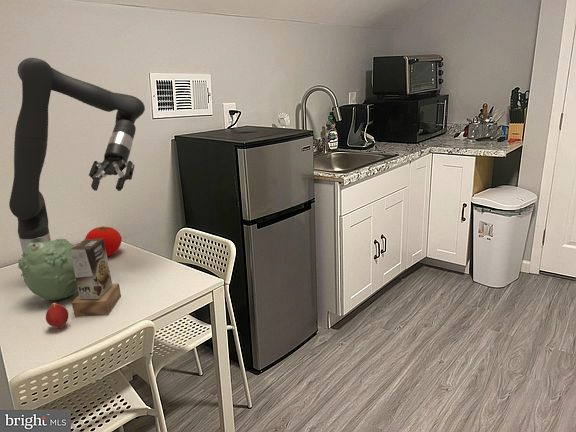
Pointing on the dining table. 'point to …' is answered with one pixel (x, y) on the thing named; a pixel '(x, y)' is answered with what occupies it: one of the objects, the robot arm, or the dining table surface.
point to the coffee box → (91, 268)
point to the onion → (56, 315)
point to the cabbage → (49, 269)
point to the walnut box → (97, 303)
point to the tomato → (106, 238)
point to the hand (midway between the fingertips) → (106, 189)
